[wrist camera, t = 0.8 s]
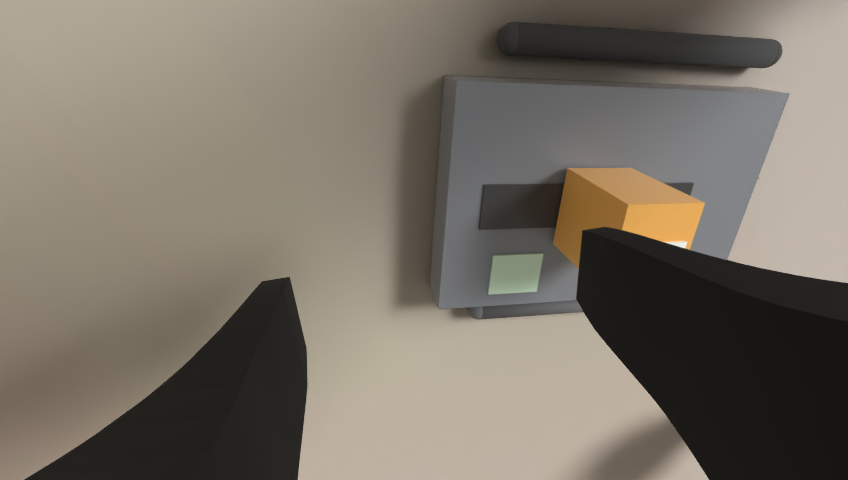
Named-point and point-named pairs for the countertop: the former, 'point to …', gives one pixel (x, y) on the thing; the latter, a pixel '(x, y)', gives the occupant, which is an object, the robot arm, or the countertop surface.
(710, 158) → the breaker panel
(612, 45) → the dark grey rod
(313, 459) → the countertop surface
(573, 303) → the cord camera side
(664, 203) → the knob
